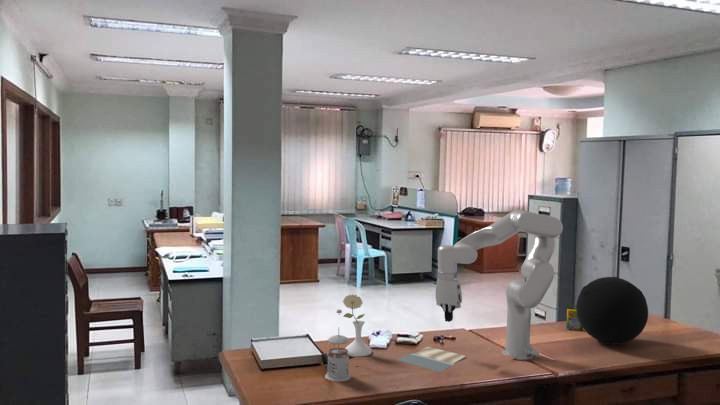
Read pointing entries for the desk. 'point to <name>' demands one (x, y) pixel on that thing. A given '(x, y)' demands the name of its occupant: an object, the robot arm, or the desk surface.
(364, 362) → the desk surface
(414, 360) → the grey rectangular panel
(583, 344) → the desk surface
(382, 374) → the desk surface
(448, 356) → the plank
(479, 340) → the desk surface
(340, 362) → the french press
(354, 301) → the flower in vase
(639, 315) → the sphere
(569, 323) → the crayon box
